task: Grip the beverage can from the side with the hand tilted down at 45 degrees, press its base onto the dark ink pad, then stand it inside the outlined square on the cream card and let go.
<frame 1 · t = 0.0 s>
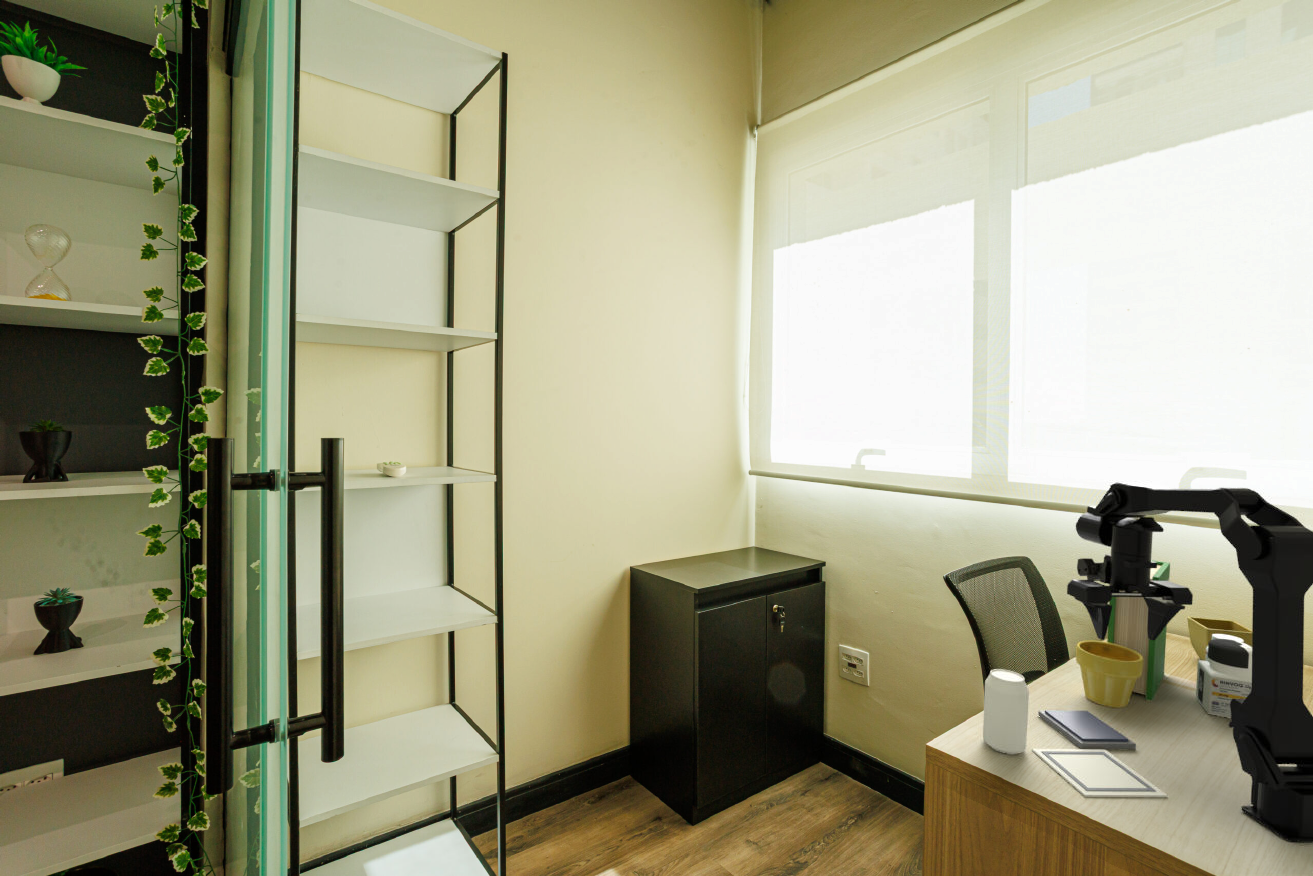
hand: (1126, 639, 110), 15 cm above the table, tool pointing down, fingers open, 9 cm apart
ink pad: (1084, 732, 106), on the table
flower pot: (1218, 665, 137), on the table
beverage can: (1003, 748, 101), on the table
print card: (1095, 772, 94), on the table
hardback book: (1135, 682, 127), on the table
plant pot: (1106, 701, 118), on the table
container: (1228, 712, 115), on the table
pill bottle: (1224, 693, 123), on the table
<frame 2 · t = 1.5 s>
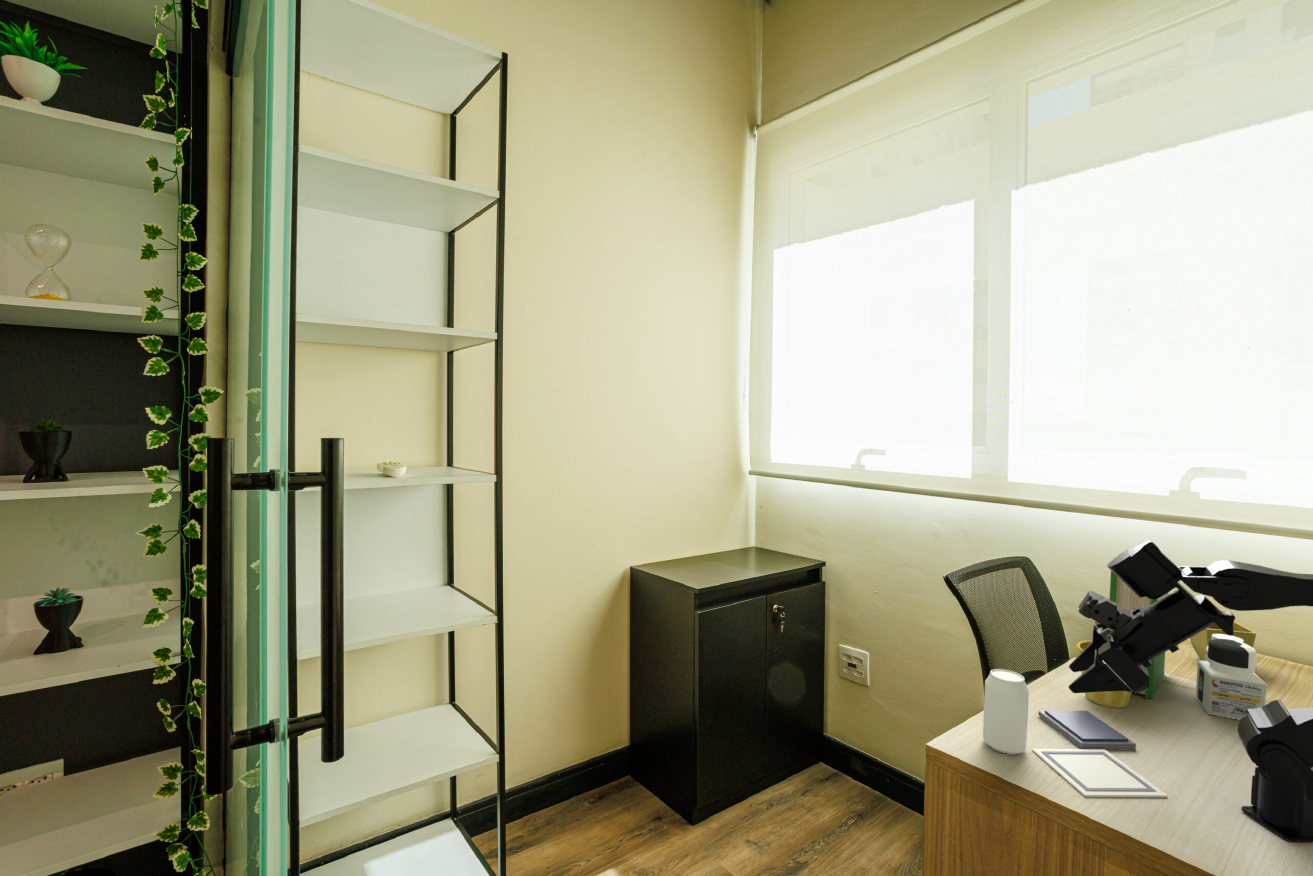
hand: (1070, 679, 96), 13 cm above the table, tool tilted 45°, fingers open, 9 cm apart
nothing on the table moved.
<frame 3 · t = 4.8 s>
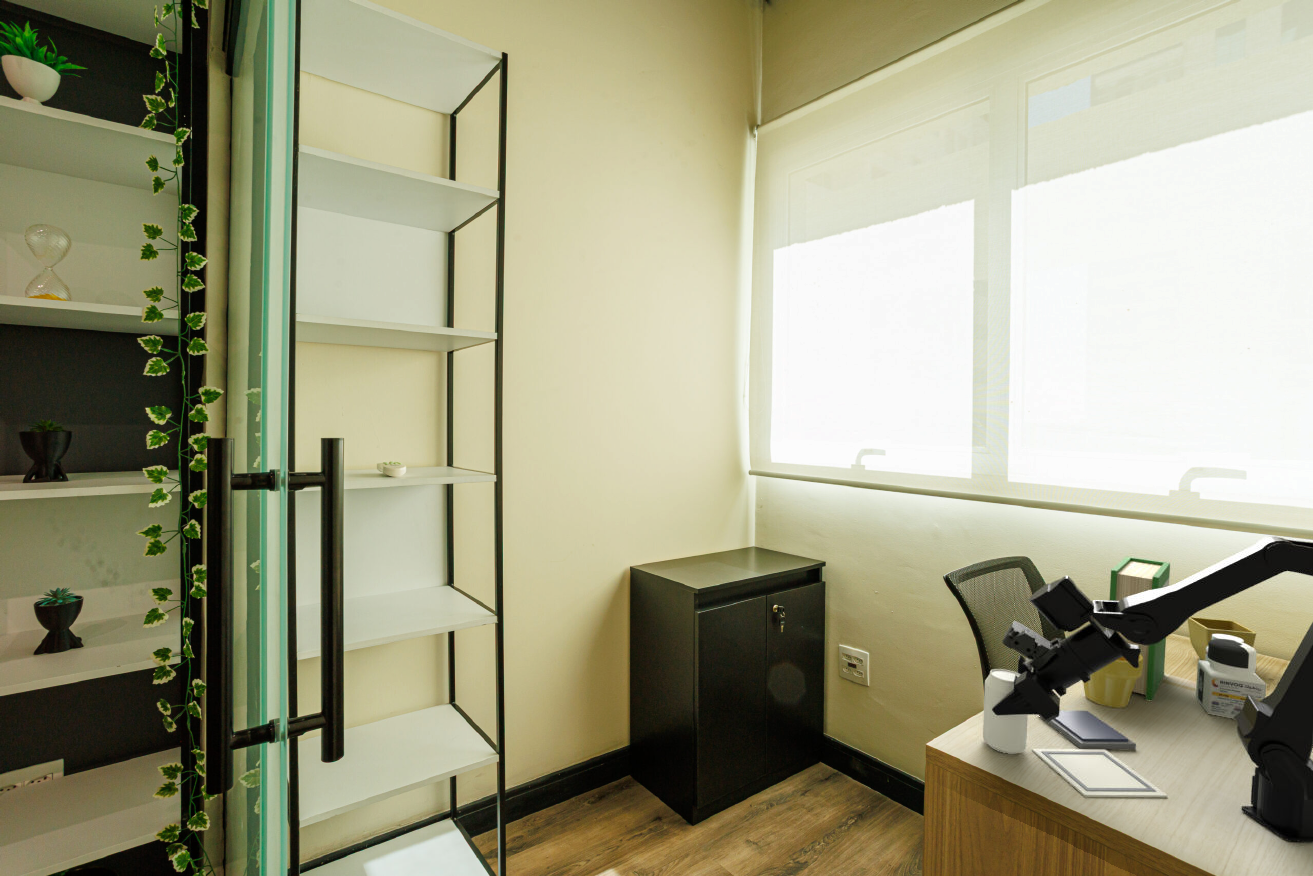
hand: (995, 704, 101), 7 cm above the table, tool tilted 45°, fingers closed on beverage can, 6 cm apart
beverage can: (1003, 748, 101), on the table, touching gripper
everything else where it was.
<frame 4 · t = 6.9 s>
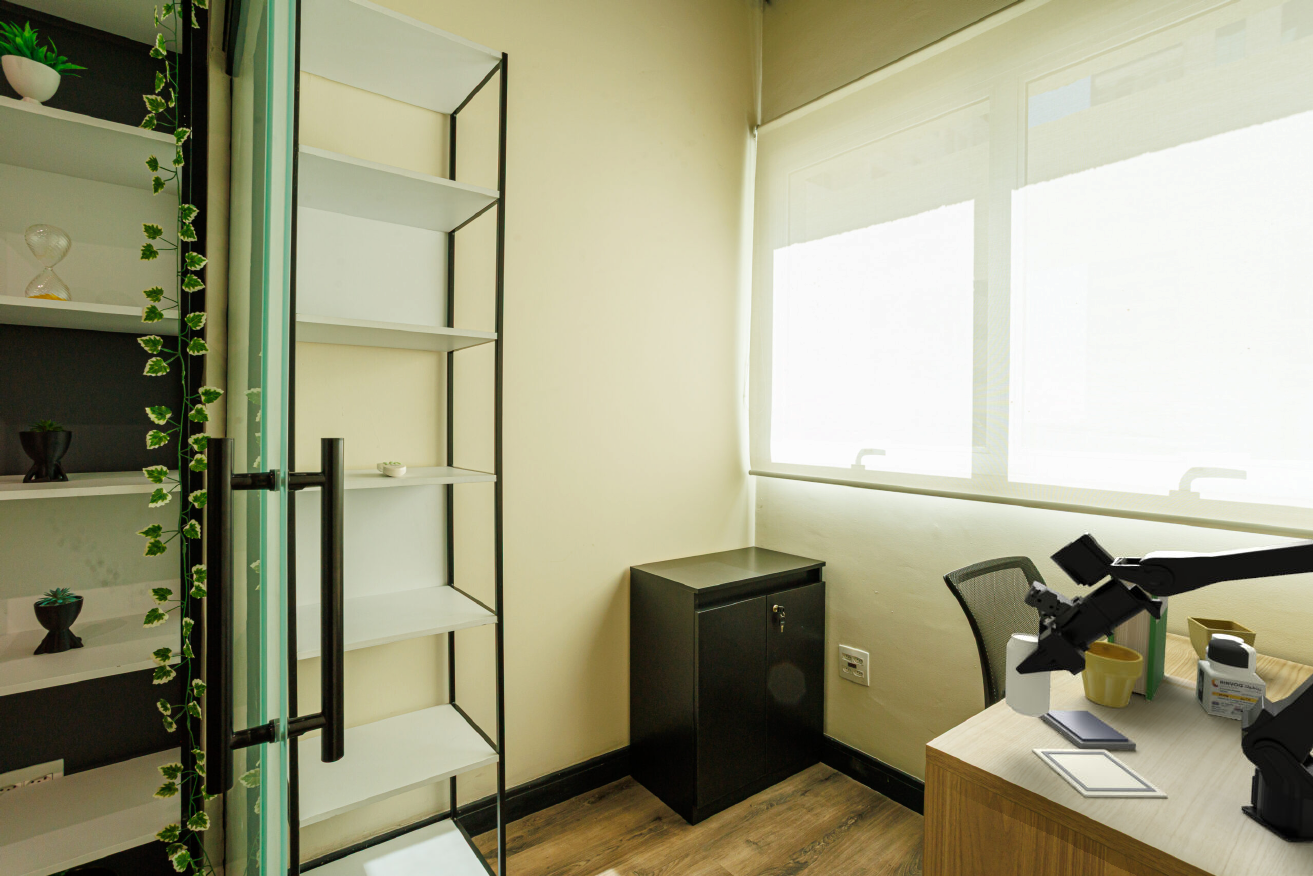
hand: (1018, 665, 102), 13 cm above the table, tool tilted 45°, fingers closed on beverage can, 6 cm apart
beverage can: (1027, 712, 101), point 6 cm above the table, touching gripper
everything else where it was.
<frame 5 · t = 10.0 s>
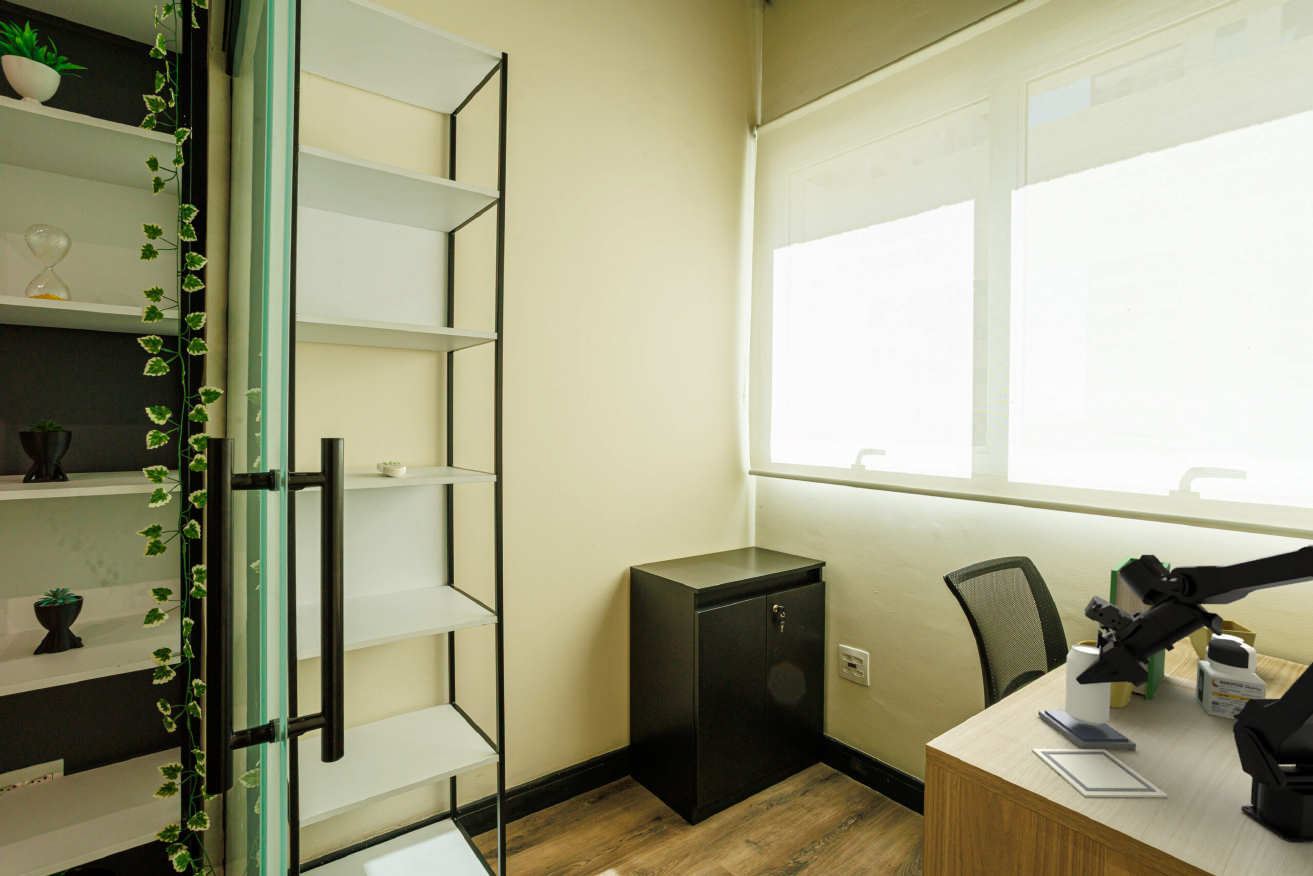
hand: (1077, 675, 106), 10 cm above the table, tool tilted 45°, fingers closed on beverage can, 6 cm apart
beverage can: (1086, 720, 105), point 2 cm above the table, touching gripper
everything else where it was.
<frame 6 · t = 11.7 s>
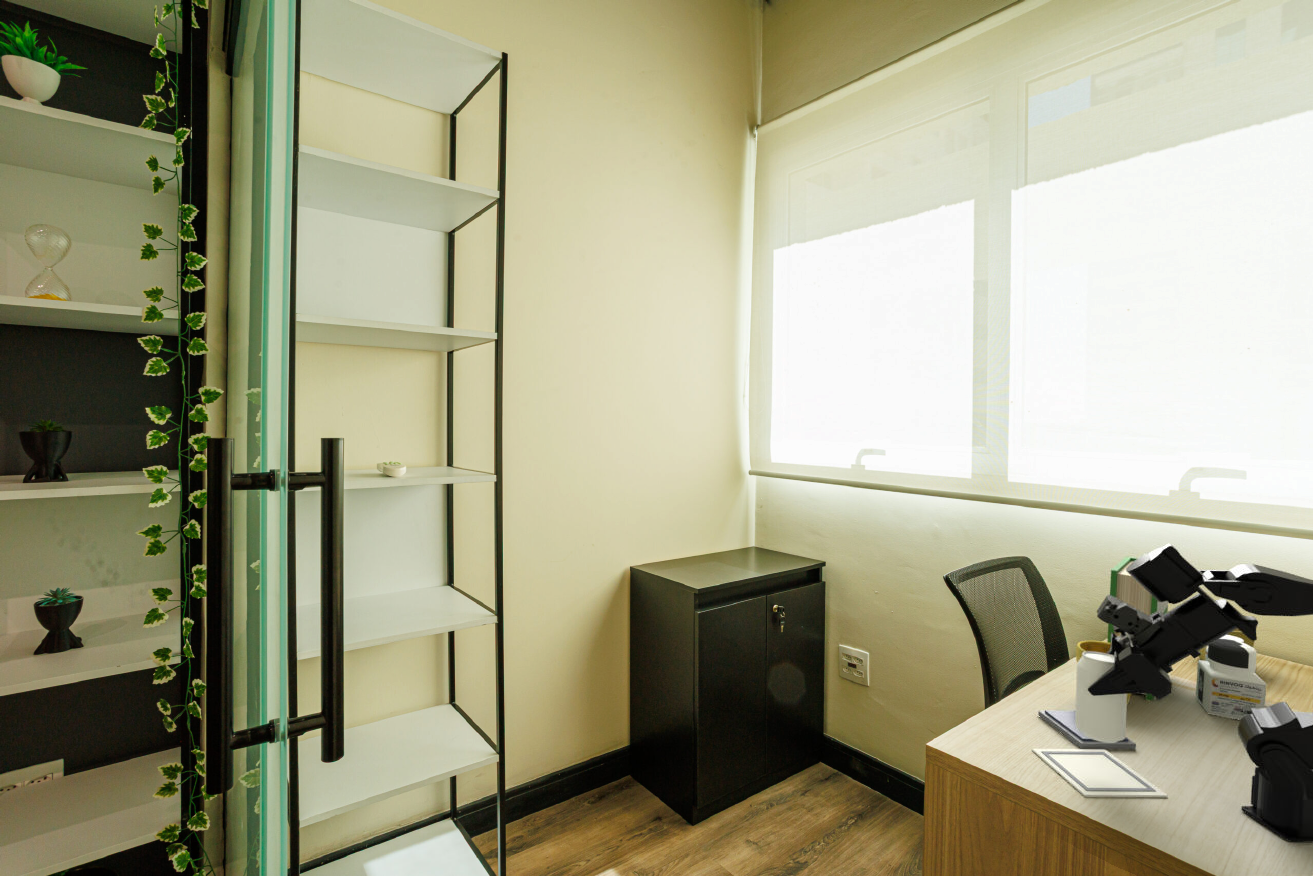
hand: (1089, 685, 94), 13 cm above the table, tool tilted 45°, fingers closed on beverage can, 6 cm apart
beverage can: (1099, 737, 93), point 6 cm above the table, touching gripper
everything else where it was.
when the fingers open (8 cm above the table, at t = 13.4 s): beverage can stays where it is, resting on print card.
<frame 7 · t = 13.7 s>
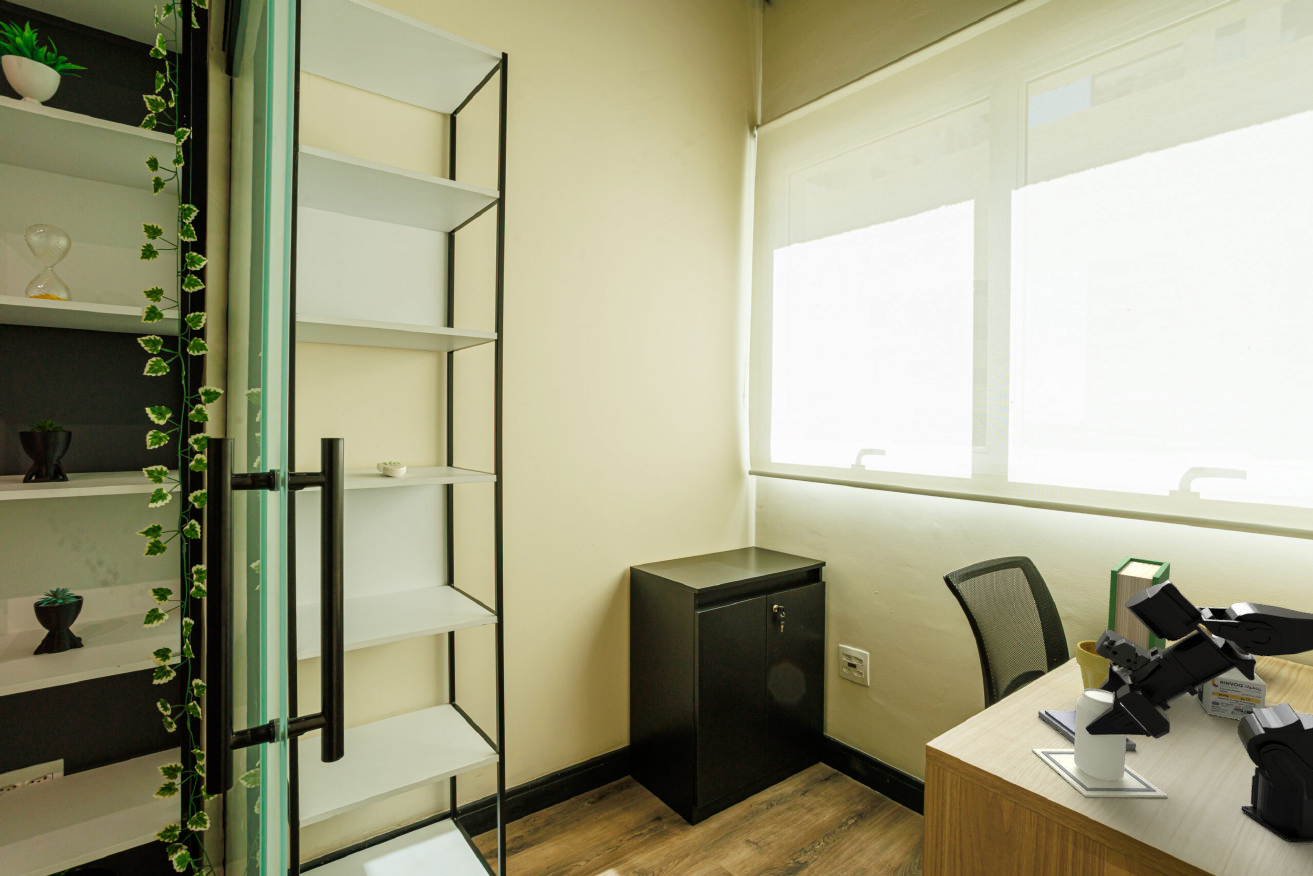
hand: (1086, 718, 94), 8 cm above the table, tool tilted 45°, fingers open, 9 cm apart
beverage can: (1098, 774, 93), resting on print card
everything else where it was.
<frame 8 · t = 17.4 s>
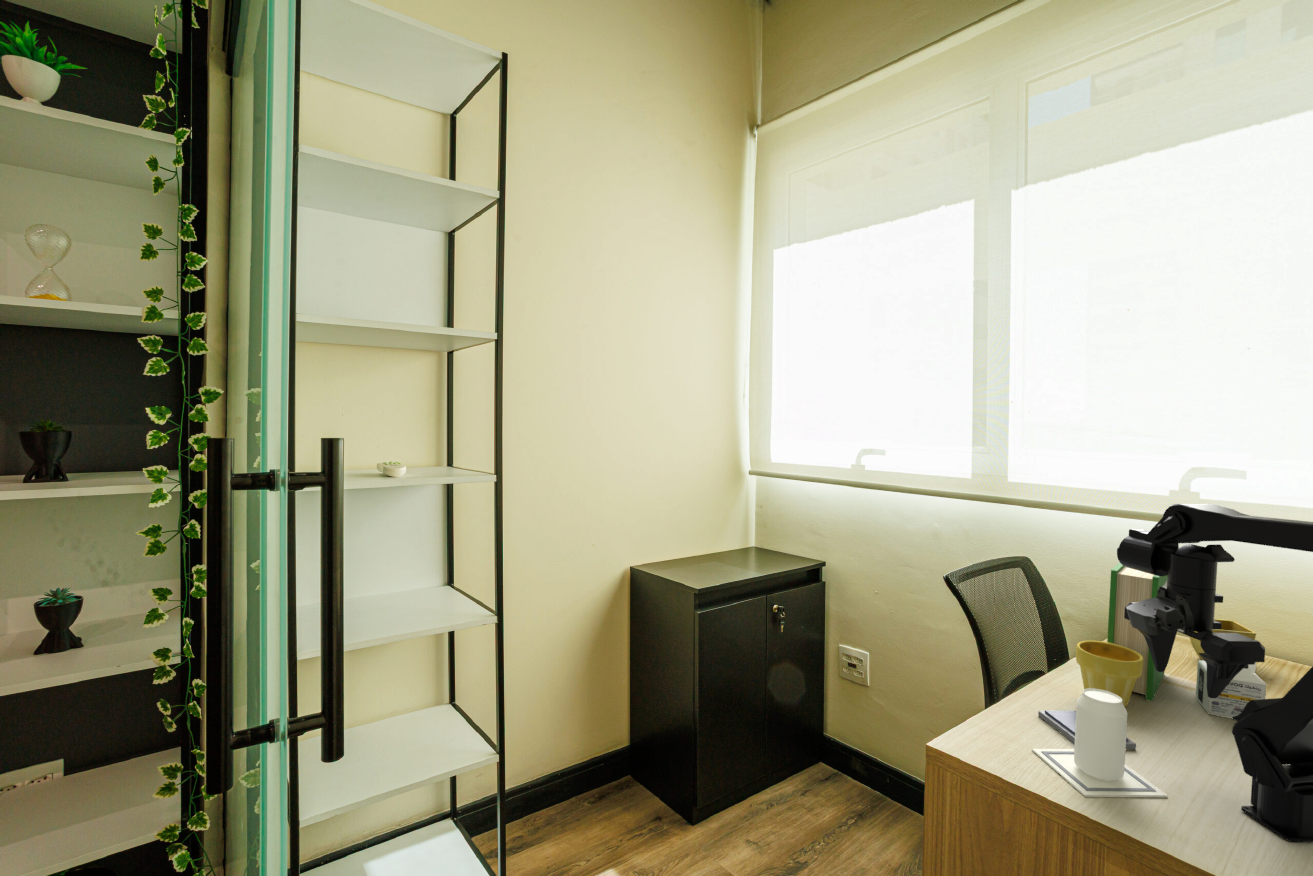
hand: (1185, 684, 96), 13 cm above the table, tool pointing down, fingers open, 9 cm apart
nothing on the table moved.
at the end: beverage can inside the target area on the print card (0.6 cm from its centre), point 0.1 cm above the print card's base; beverage can tilted 0°; the gripper is holding nothing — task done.
